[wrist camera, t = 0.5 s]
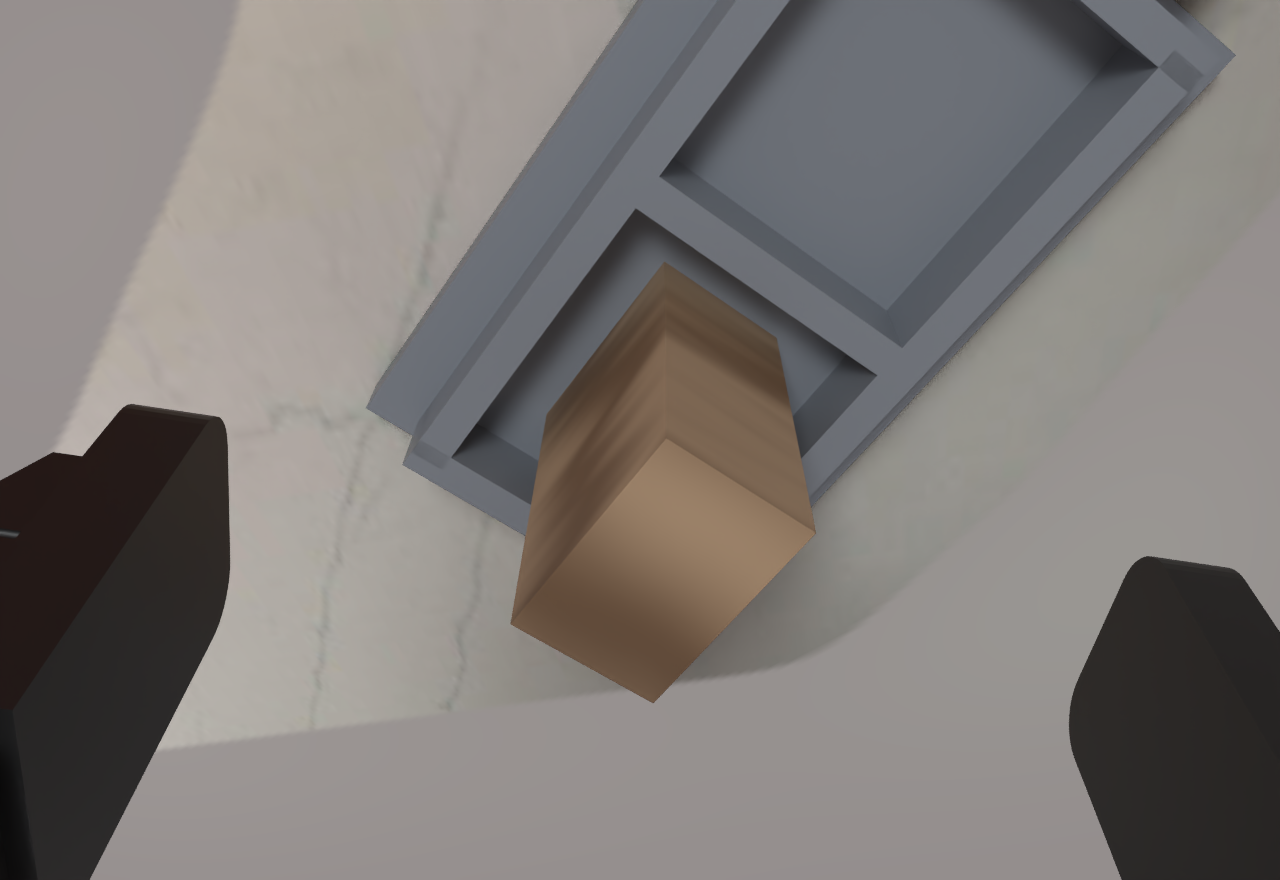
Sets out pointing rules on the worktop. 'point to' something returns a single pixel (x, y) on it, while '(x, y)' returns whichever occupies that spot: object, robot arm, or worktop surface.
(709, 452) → the walnut block
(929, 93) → the tray
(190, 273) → the worktop surface
